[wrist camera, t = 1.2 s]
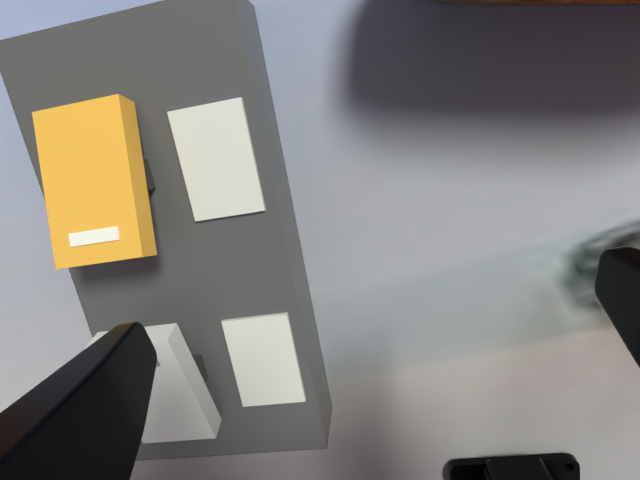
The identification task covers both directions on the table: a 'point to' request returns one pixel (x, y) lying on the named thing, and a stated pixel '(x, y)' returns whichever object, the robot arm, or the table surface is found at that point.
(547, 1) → the tin
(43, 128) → the block
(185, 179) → the rocker switch panel
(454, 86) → the table surface
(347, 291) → the table surface
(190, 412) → the grey rocker
